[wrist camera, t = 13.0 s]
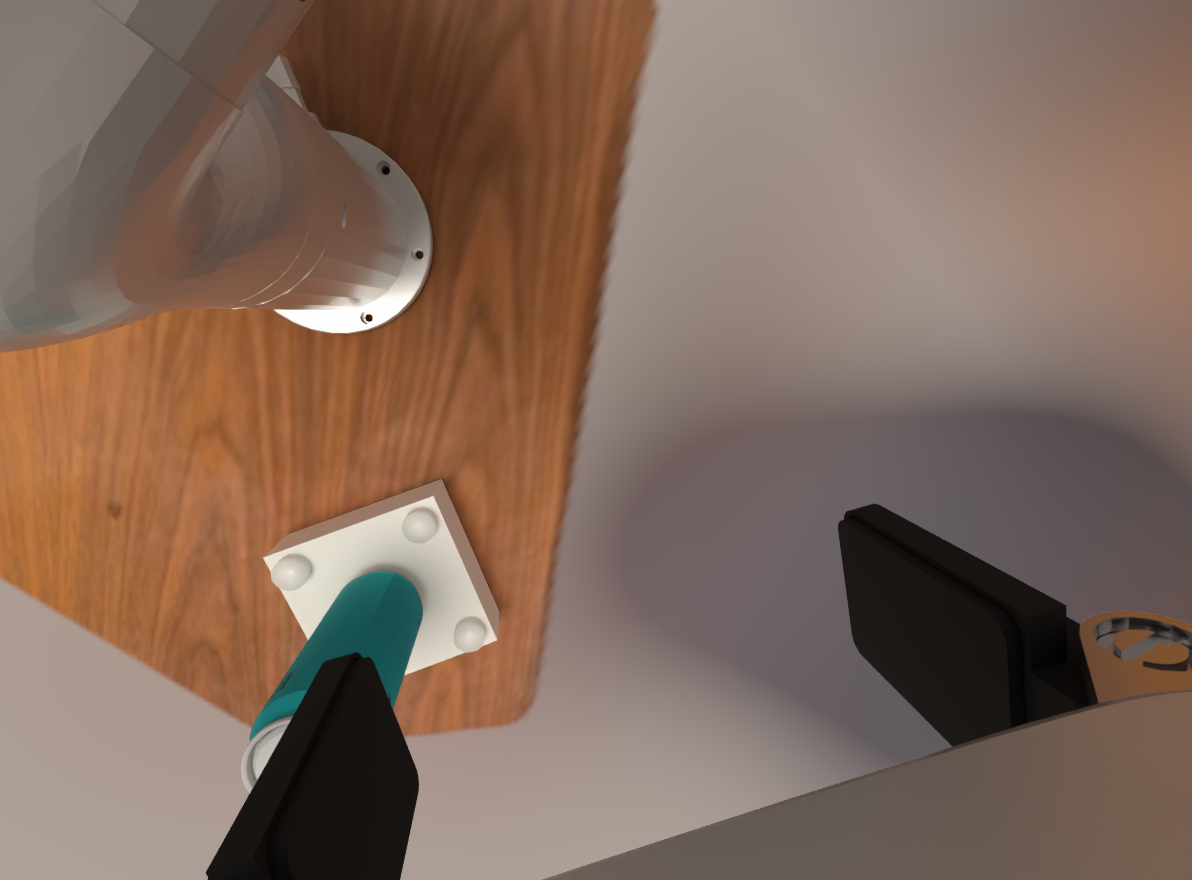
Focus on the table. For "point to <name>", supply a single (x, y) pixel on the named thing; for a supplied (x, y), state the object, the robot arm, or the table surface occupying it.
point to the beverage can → (343, 653)
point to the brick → (394, 569)
